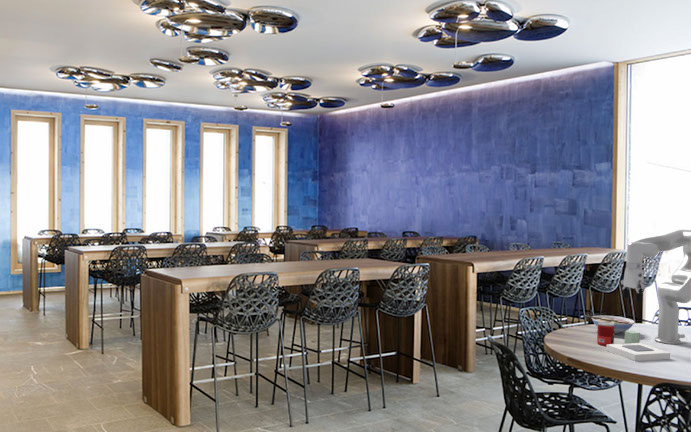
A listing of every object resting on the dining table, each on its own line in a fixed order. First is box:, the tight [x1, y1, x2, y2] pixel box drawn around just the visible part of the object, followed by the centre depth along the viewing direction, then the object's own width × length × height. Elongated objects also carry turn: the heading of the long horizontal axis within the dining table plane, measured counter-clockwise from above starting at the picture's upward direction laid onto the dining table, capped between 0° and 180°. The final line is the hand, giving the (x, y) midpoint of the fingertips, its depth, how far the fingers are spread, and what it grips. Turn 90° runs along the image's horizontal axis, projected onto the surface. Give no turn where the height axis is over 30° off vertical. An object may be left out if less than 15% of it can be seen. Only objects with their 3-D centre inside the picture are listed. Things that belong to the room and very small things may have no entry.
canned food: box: [596, 322, 615, 347], centre depth 327 cm, size 8×8×11 cm
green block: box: [623, 330, 641, 344], centre depth 327 cm, size 5×5×7 cm
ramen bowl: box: [584, 315, 636, 335], centre depth 357 cm, size 25×23×8 cm
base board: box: [605, 342, 671, 362], centre depth 307 cm, size 20×20×3 cm
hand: (631, 299), depth 327 cm, fingers open, 9 cm apart
